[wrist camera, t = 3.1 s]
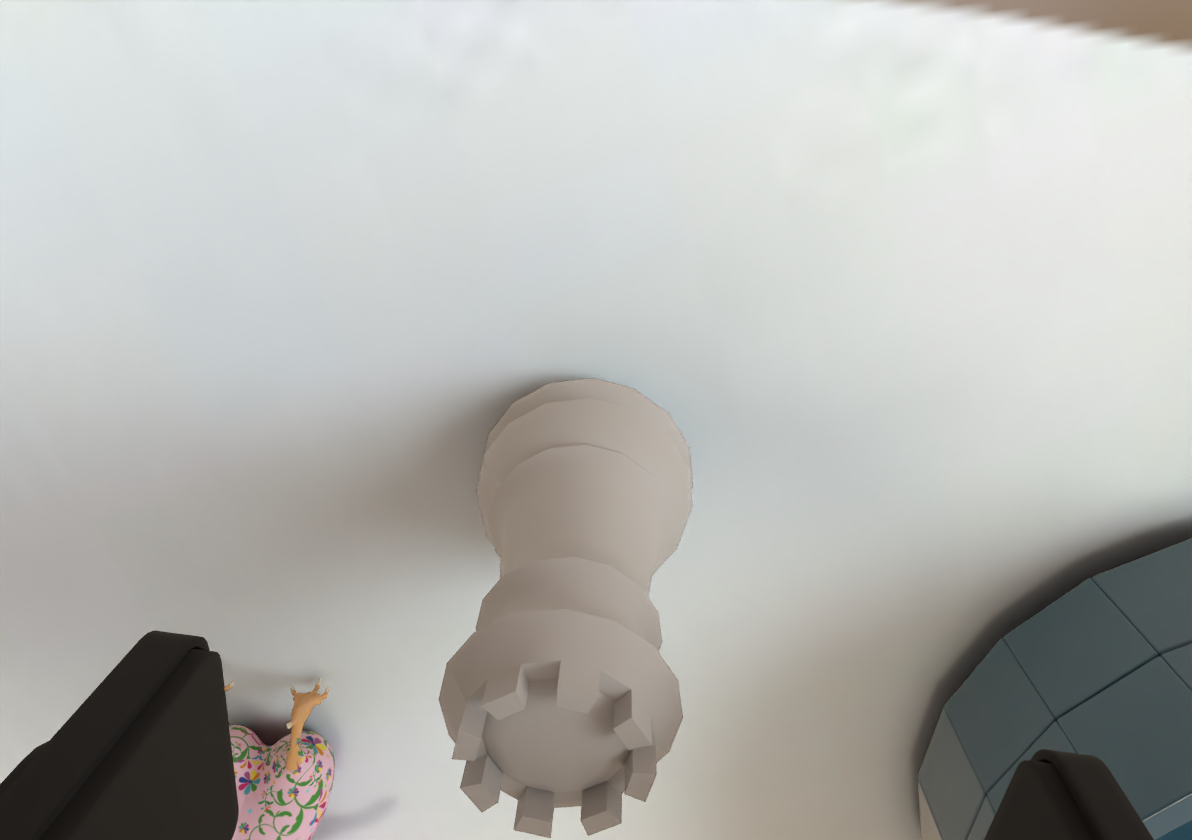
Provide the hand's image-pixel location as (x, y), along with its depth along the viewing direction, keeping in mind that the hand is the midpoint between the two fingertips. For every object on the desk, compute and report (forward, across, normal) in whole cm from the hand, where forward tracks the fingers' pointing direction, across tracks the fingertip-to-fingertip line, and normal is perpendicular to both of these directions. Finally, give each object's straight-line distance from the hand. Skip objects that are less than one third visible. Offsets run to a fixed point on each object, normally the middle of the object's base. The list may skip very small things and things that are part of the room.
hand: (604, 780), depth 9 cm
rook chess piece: (+8, +1, 0) cm, 9 cm away
